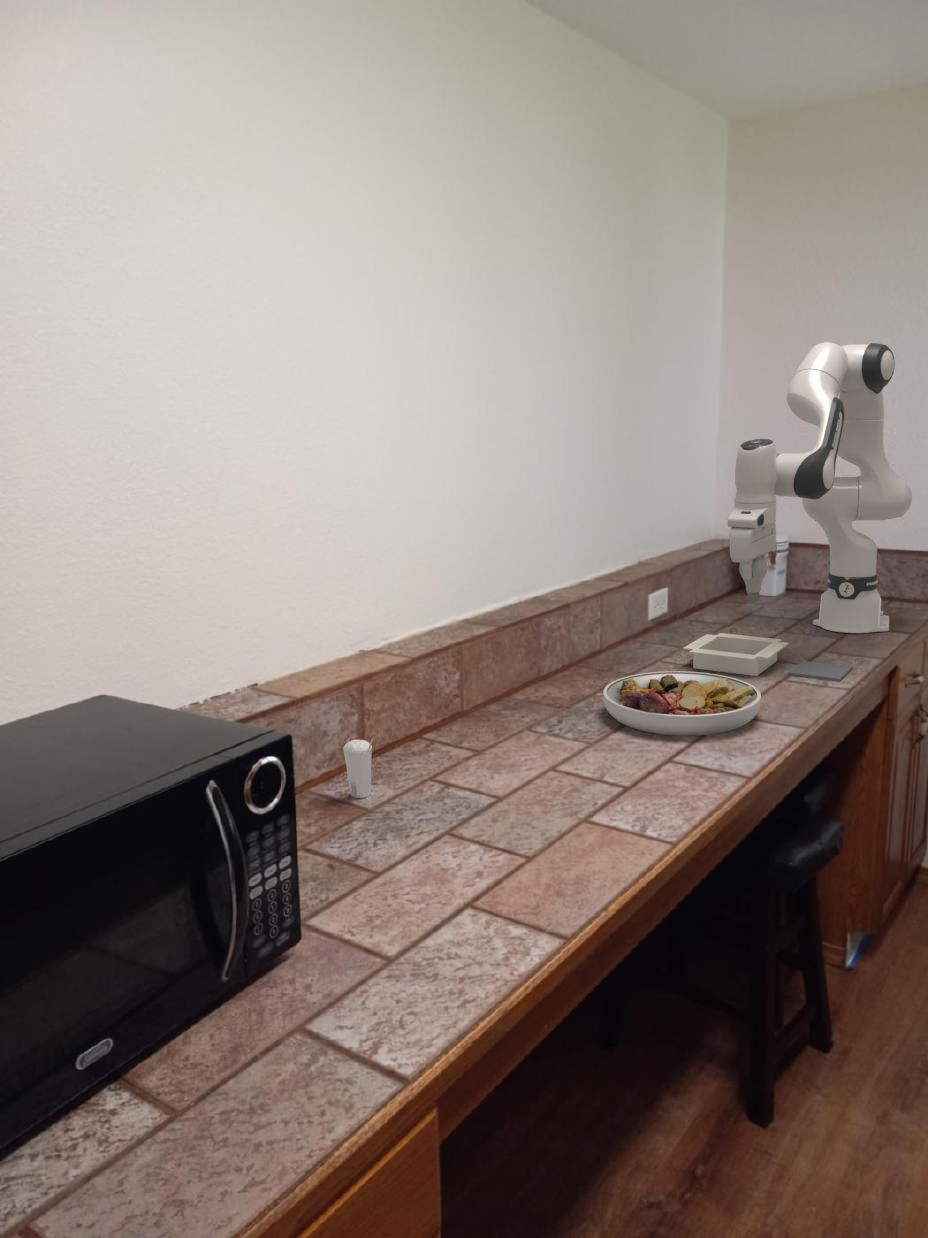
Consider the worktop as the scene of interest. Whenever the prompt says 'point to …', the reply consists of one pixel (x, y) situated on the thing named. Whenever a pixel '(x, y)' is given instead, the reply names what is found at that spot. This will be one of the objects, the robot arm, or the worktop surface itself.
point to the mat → (820, 670)
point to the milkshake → (358, 767)
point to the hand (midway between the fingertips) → (753, 576)
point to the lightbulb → (755, 578)
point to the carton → (735, 653)
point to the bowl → (682, 702)
